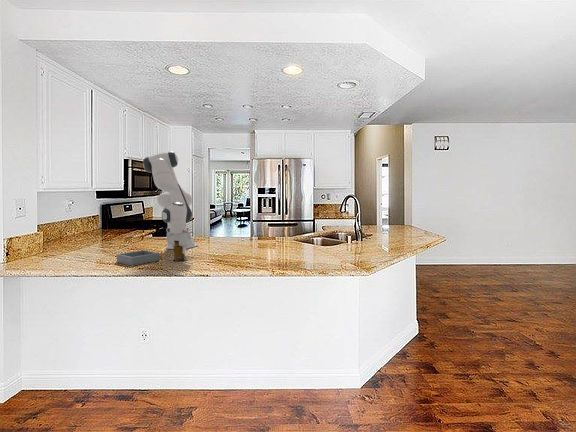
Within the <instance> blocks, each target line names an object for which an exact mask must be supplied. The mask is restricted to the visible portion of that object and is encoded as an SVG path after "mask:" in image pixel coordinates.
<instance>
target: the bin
mask: <svg viewBox="0 0 576 432" xmlns="http://www.w3.org/2000/svg"><path fill="white" fill-rule="evenodd" d="M155 261H157V262H160V252H155V251H149V250H146V249H143V250H135V251H130V252H123V253H117V254H116V263H117V262H118V263H119V264H123V265H126V264H127V266H130V265H131V267H133V265H134V266H139V265H138V264H140V265H143V264H142V263H145V264H149V263H148V262H151V263H155Z"/></svg>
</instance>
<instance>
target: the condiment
mask: <svg viewBox="0 0 576 432" xmlns="http://www.w3.org/2000/svg"><path fill="white" fill-rule="evenodd" d="M174 242H175V243H174V244H175V245H174V249H173V257H174V258H173V259H174V260H175V261H174V262H187V261H189V260H190V258H186V257H185V254H186V252H185V253H184V254H183V253H182V252H181V251H182V250H183V248H182V246H180V245H179V241H174Z"/></svg>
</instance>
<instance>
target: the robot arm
mask: <svg viewBox="0 0 576 432" xmlns="http://www.w3.org/2000/svg"><path fill="white" fill-rule="evenodd" d="M178 164H179V158H178V155H177V153H176V152H174V151H172V150H171V151H166V152H160V153H159V152H158V153H157V154H153V155H150V156H147V157H145V158H143V160H142V166H143V169H144V170H145V172H146V173H149V174H152V178H153V182H154V185H155V187H156V188H157V189H159V190H161V191H163V192H161V193H160V194H159V195H158V197H157V203H158V206H160V207H161V208H162V209H163V210H162V211H161V220H162V221H163V222H164V223H165V224H167V228H166V230H165V231H166V247H165V249H166V250H167V249H168V250H174V245H175V244H174V243H175V242H174V241H179V245H180V246H182V248H183V250H182V251H181V252H182V253H183V254H184V253H185V254H186V250H187V249H191V248H194V247H198V246H199V245H198V243H196V242H195V238H194V237H193V236H192V235H191V232H190V231H189V230H190V229H189V227H187V223H189V222H190V221H191V220H192V218H193V211H192V209H191V208H190V207H191V205H192V204H193V197H192V195H191V194H190V193H189V192H187V191H186V190H184V188H182V186H181V185H180V184H179V181H178V179H177V176H176V173H175V170H174V168H175V167H177V166H178Z"/></svg>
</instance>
